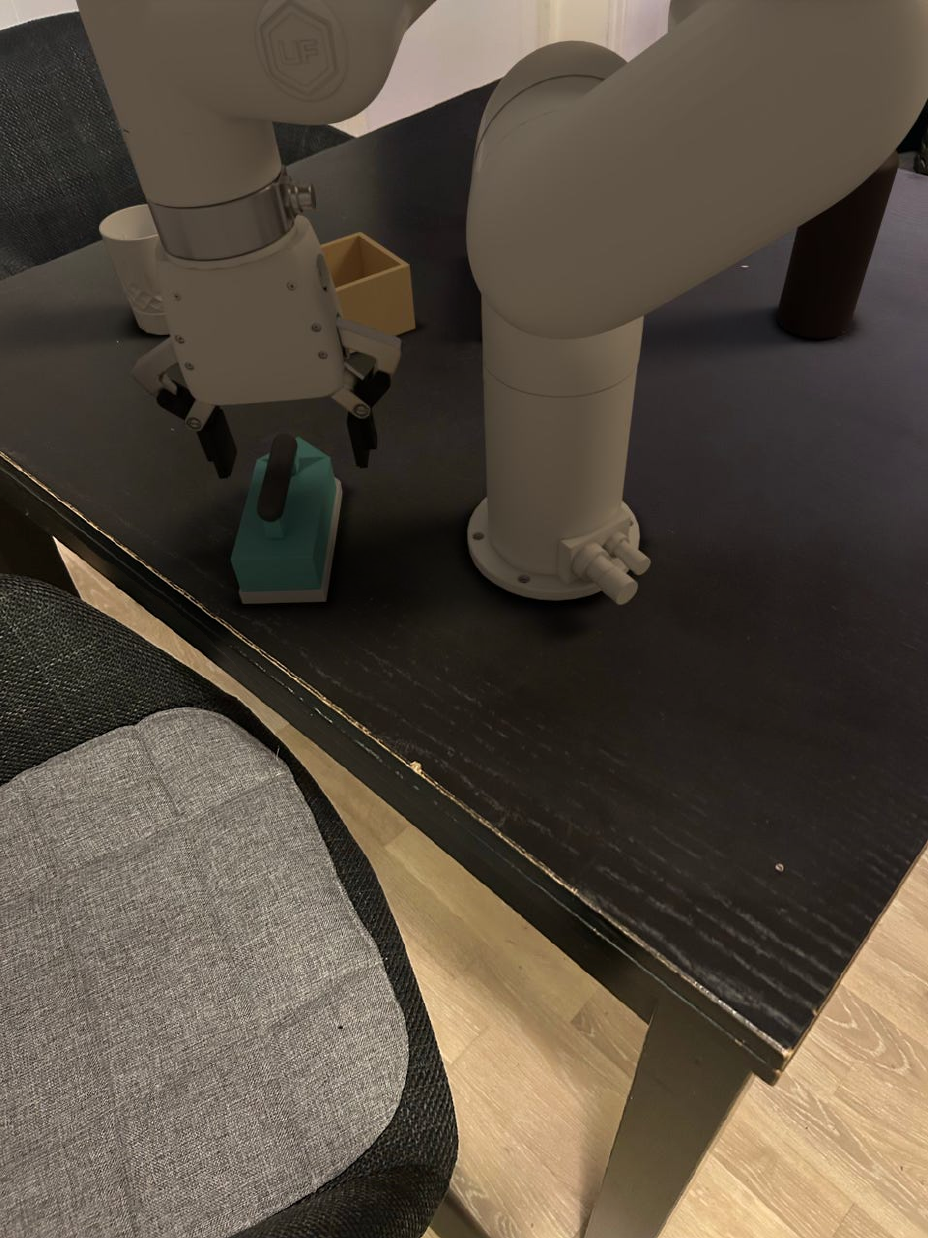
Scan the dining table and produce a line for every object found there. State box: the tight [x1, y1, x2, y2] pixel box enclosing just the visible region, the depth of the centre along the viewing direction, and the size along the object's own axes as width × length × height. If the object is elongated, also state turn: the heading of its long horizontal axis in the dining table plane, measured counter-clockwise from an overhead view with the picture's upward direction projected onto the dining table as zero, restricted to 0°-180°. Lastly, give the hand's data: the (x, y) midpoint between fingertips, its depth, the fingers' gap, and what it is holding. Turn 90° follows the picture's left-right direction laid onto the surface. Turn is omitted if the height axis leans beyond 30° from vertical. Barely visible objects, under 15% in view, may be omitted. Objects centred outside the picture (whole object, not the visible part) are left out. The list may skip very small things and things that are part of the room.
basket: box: [320, 231, 416, 355], centre depth 85 cm, size 9×13×6 cm
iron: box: [230, 432, 343, 605], centre depth 64 cm, size 15×6×8 cm, turn 0°
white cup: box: [98, 203, 170, 336], centre depth 86 cm, size 8×8×10 cm
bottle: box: [776, 149, 900, 340], centre depth 77 cm, size 7×7×20 cm
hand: (296, 461), depth 61 cm, fingers open, 9 cm apart
